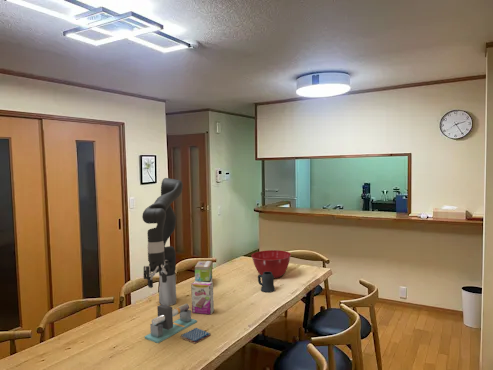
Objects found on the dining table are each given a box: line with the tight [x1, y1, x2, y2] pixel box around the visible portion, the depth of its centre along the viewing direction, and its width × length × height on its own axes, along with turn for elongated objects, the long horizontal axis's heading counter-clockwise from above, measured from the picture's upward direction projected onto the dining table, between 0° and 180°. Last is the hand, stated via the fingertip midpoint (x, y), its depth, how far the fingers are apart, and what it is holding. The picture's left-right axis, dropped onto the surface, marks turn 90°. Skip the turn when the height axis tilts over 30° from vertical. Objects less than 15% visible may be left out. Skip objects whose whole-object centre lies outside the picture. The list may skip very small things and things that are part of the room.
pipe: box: [149, 303, 192, 338], centre depth 177 cm, size 22×5×9 cm, turn 145°
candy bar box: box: [190, 280, 215, 316], centre depth 197 cm, size 11×5×16 cm, turn 74°
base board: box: [144, 318, 198, 344], centre depth 177 cm, size 26×9×1 cm, turn 145°
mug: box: [257, 271, 276, 294], centre depth 230 cm, size 12×9×11 cm
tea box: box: [194, 260, 213, 283], centre depth 243 cm, size 15×10×15 cm, turn 179°
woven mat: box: [180, 327, 211, 345], centre depth 169 cm, size 10×11×2 cm
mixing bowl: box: [250, 249, 292, 279], centre depth 259 cm, size 28×28×15 cm
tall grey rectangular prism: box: [156, 304, 174, 330], centre depth 173 cm, size 3×7×10 cm, turn 55°
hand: (157, 284), depth 170 cm, fingers open, 8 cm apart
